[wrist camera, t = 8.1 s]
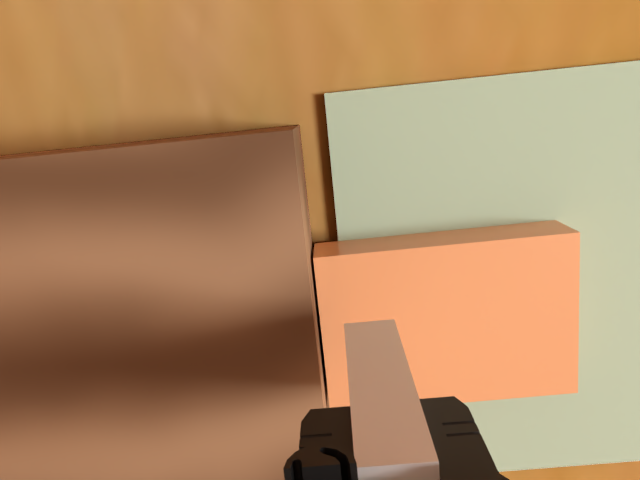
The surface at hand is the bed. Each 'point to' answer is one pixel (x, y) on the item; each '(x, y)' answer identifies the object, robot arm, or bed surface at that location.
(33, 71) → the bed surface
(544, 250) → the orange rectangular block
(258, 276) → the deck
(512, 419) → the mat
